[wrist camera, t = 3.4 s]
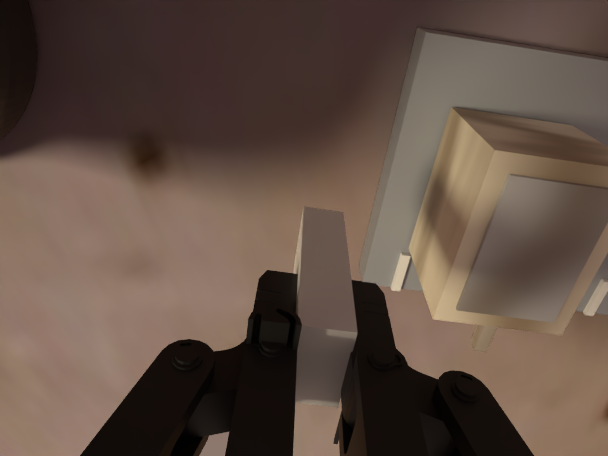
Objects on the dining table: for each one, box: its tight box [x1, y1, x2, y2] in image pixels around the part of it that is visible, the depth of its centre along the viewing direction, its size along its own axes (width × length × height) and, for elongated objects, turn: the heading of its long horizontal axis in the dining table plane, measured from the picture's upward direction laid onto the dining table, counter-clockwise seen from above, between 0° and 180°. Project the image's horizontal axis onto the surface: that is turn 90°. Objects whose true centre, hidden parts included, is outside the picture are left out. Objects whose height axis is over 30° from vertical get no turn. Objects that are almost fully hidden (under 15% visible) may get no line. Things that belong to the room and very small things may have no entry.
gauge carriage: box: [409, 107, 608, 352], centre depth 22 cm, size 6×10×6 cm, turn 172°
